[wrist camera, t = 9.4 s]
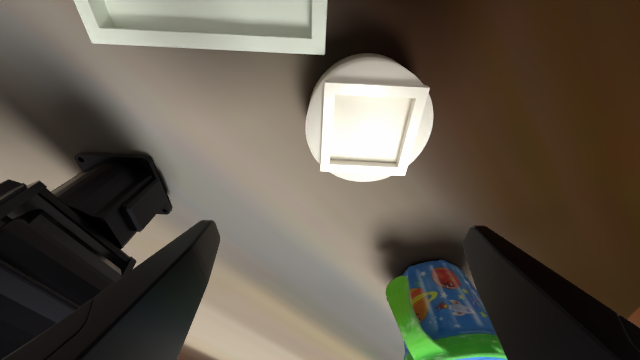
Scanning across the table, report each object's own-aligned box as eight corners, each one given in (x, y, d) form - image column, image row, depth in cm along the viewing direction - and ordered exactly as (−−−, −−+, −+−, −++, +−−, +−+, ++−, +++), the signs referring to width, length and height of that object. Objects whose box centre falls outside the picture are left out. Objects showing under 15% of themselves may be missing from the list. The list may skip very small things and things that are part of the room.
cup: (308, 155, 21) (304, 183, 17) (310, 50, 16) (304, 59, 13) (402, 160, 21) (416, 189, 17) (430, 56, 16) (457, 67, 13)
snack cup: (499, 288, 30) (563, 392, 22) (424, 315, 35) (454, 411, 26) (435, 221, 24) (490, 329, 16) (354, 264, 29) (364, 367, 20)
